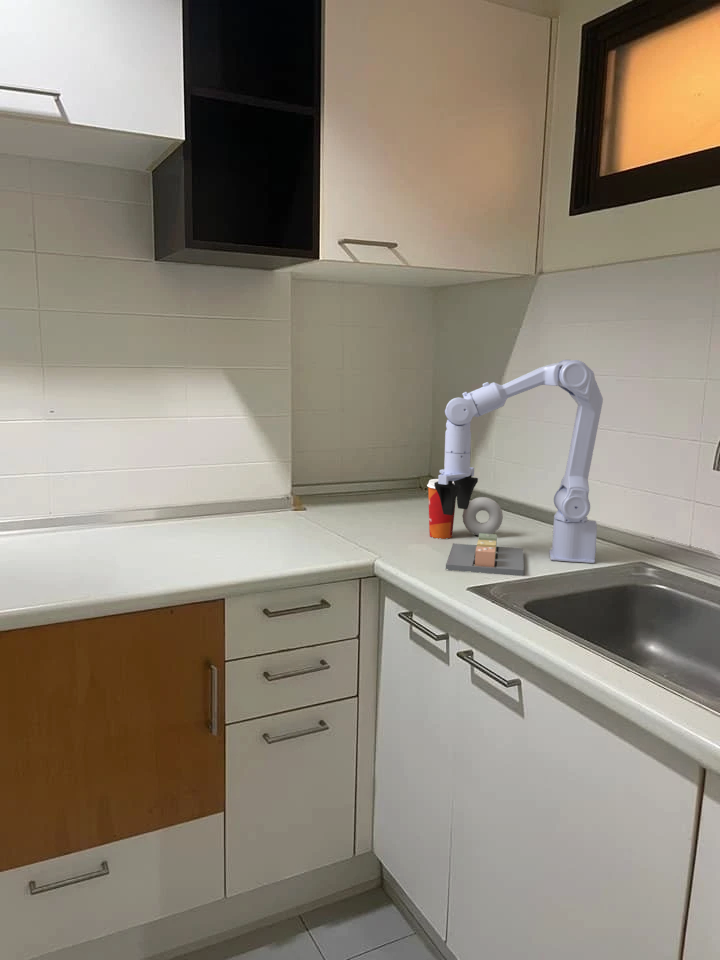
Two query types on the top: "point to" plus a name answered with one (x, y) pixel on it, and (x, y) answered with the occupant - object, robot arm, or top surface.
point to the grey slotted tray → (506, 564)
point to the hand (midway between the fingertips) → (455, 511)
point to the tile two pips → (487, 544)
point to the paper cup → (438, 515)
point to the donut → (485, 505)
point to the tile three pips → (485, 556)
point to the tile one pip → (488, 537)
